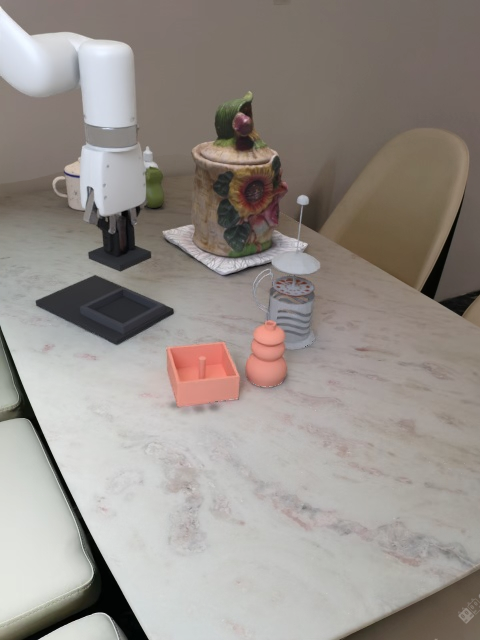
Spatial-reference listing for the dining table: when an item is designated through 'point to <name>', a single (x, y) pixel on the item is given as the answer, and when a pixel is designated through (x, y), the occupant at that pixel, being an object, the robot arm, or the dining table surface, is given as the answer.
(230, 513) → the dining table surface
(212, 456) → the dining table surface
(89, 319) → the base pad
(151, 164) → the eye dropper bottle
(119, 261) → the stud pad
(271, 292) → the french press
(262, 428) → the dining table surface
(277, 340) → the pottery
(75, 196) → the teacup with lid
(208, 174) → the cookie jar
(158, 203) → the pear
